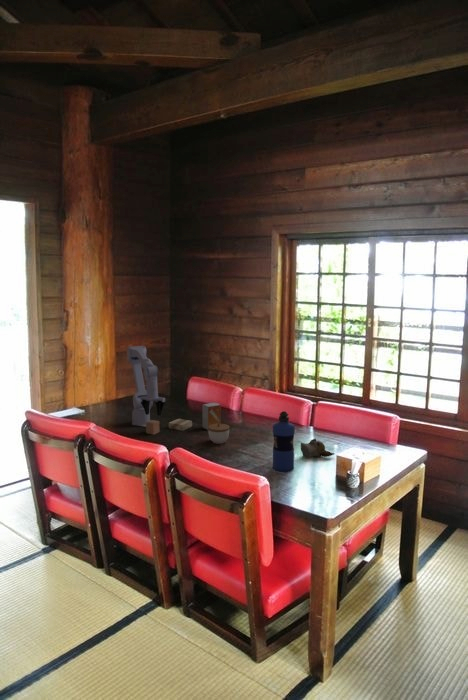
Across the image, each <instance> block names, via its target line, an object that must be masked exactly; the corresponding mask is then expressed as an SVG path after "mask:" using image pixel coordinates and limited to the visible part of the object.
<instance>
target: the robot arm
mask: <svg viewBox="0 0 468 700" xmlns="http://www.w3.org/2000/svg"><path fill="white" fill-rule="evenodd" d="M126 356H127V361H128V363H129V364H131V367H132V372H133V378H134V382H135V389H136V392H135V393H134V395H133V396H132V404H133V409H132V412H131V416H132V417H131V420H132V421H131V422H132V423H131V425H132V426H136V427H137V426H138V427H145V428H146V422H147V421H150V420H151V415H150V414H151V412H150V411H151V410H150V409H151V408H152V407H153V406H154V405H153V404H154V402H155V406H156V414H157V416H161V415H162V412H163V408H164V405H165V404H166V397H160V396H159V391H158V390H159V388H158V377H159V373H160V372H159V368H158V366H157V365H156V364H155V365H154V364H153V361H152V360H151V359H150V358H148V357H147V348H146V346H145V345H136V346H127V348H126ZM145 384H146V386H145Z"/></svg>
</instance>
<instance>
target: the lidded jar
mask: <svg viewBox="0 0 468 700" xmlns="http://www.w3.org/2000/svg"><path fill="white" fill-rule="evenodd" d="M207 432H208V437H209V439H210V440H211V442H212V443H213V444H217V445H218V444H224V443H225V442H226V441H227V440H228V439H229V435H230V425H228V424H226V423H221V424H220V423H218V424H212V425H209V426H208V430H207Z"/></svg>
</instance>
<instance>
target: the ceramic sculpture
mask: <svg viewBox="0 0 468 700" xmlns="http://www.w3.org/2000/svg"><path fill="white" fill-rule="evenodd" d="M300 451H301V454H302V456H303V458H306V459H309V458H310V457H315V458H320V457H324V458H328V457H331V456H334V455H335V453H334V452H330V451H329V450H326V445H325V444H324V442H322V441H320V440H317V439H316V438H313V439H311V440H310V441H309V443H308V442H307V443H305V442H301V443H300Z"/></svg>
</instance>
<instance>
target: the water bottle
mask: <svg viewBox="0 0 468 700" xmlns="http://www.w3.org/2000/svg"><path fill="white" fill-rule="evenodd" d="M278 415H279V416H278V422H276V423H273V424H272V434H273V447H272V469H273V470H274V471H276V472H279V473H288V472H293V470H294V469H295V468H294V465H295V463H294V462H295V448H294V439H295V438H294V437H295V433H296V431H295V430H296V426H295V424H293V423H291V422H290V417H289V414H288V412H287V411H281V412H280V413H279V414H278Z"/></svg>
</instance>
